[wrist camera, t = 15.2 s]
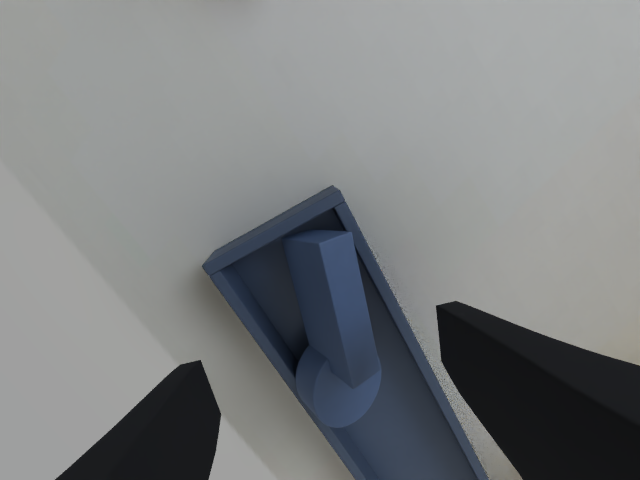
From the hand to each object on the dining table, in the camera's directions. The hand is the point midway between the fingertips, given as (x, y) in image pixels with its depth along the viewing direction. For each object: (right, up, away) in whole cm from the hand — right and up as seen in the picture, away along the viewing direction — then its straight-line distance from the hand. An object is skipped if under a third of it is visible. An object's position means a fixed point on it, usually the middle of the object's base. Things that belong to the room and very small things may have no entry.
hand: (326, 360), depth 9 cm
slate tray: (+4, -6, +8) cm, 10 cm away
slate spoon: (0, 0, +4) cm, 4 cm away
